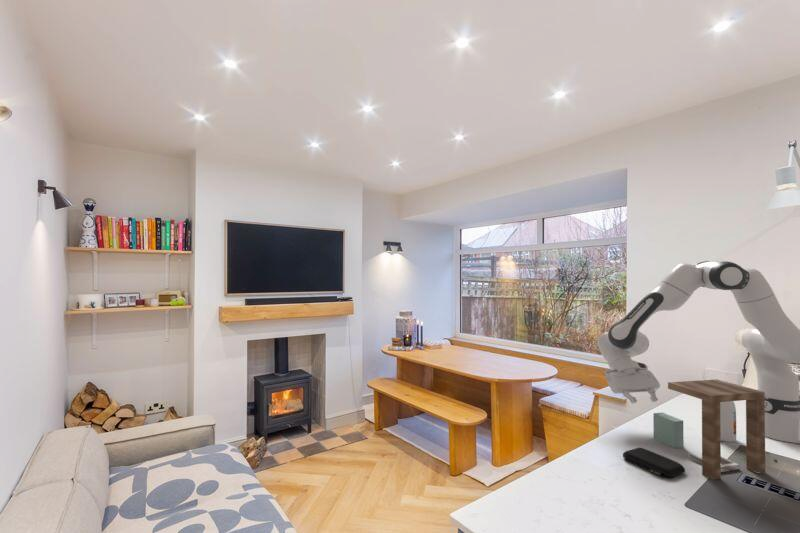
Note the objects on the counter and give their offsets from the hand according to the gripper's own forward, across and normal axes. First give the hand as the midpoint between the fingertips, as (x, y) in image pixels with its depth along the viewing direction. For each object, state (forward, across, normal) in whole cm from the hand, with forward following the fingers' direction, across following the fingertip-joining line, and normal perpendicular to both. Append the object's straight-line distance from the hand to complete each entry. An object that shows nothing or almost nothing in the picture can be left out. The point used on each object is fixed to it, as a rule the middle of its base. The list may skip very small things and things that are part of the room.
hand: (645, 401), depth 144 cm
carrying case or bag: (+24, -21, -8) cm, 33 cm away
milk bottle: (+15, +23, +1) cm, 28 cm away
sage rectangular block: (+15, 0, +1) cm, 15 cm away
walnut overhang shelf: (+26, 0, -10) cm, 28 cm away
